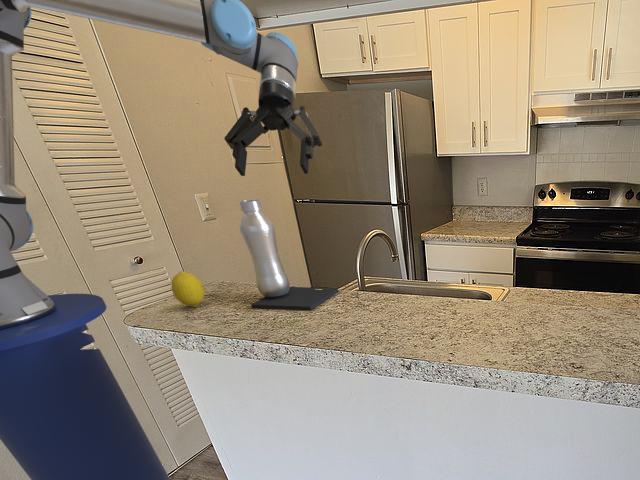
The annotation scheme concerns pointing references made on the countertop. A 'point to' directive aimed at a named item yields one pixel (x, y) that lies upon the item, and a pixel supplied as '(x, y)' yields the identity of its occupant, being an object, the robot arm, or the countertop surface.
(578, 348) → the countertop surface
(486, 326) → the countertop surface
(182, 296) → the lemon
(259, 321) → the countertop surface
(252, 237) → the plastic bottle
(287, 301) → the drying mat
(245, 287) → the countertop surface
